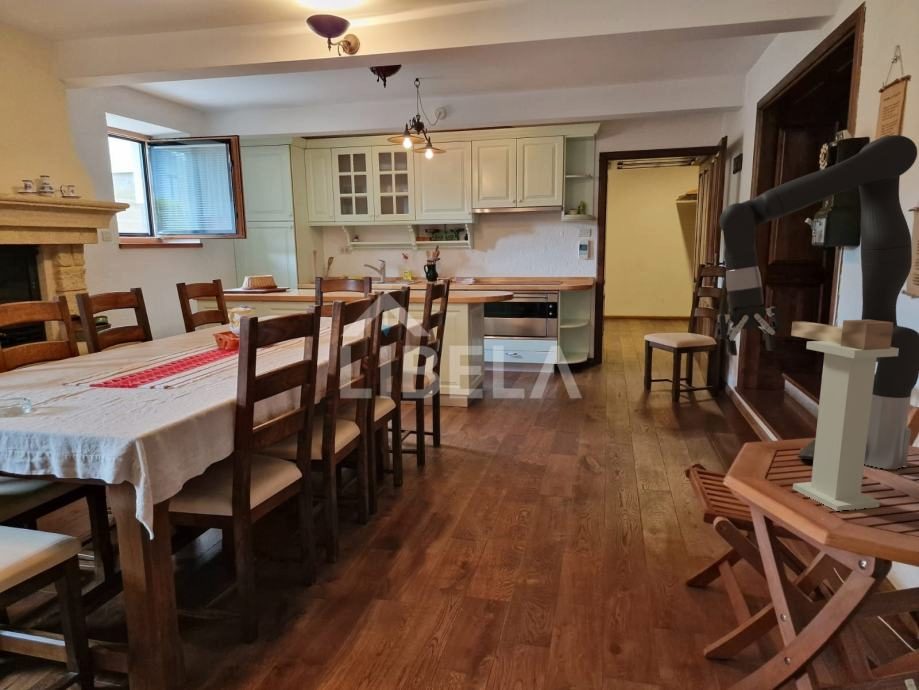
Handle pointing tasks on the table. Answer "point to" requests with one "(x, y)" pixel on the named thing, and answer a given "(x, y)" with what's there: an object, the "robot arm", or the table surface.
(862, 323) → the mallet
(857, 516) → the table surface
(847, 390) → the stand
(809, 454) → the decorative stone
